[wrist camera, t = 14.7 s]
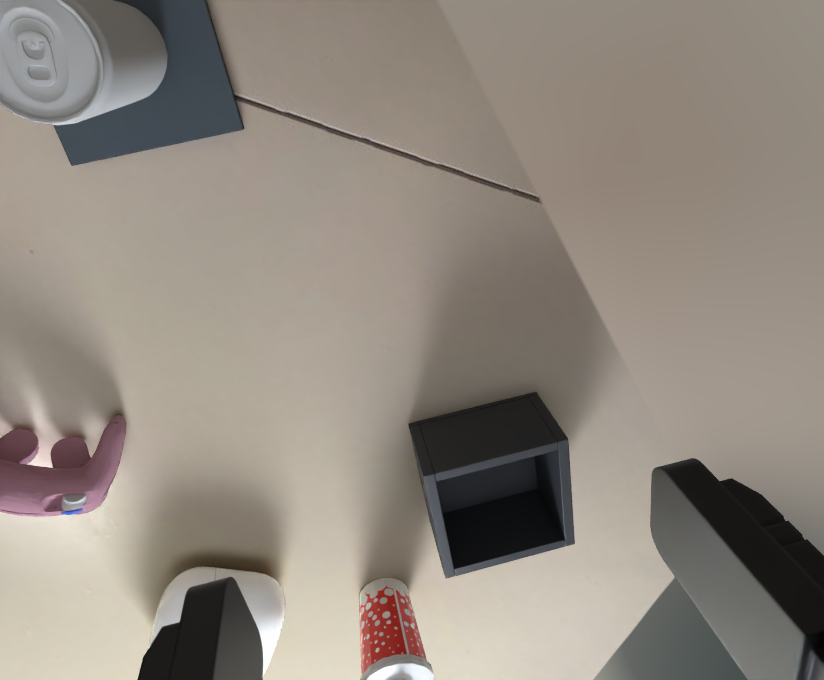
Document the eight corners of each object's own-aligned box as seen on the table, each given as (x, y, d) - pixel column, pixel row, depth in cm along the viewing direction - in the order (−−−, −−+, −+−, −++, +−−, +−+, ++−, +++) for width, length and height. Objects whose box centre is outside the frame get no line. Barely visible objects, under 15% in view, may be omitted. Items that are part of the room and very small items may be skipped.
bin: (536, 391, 47) (568, 439, 41) (545, 489, 52) (574, 544, 46) (408, 423, 46) (423, 476, 41) (429, 520, 51) (445, 579, 46)
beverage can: (163, 4, 31) (94, -17, 20) (176, 102, 33) (118, 129, 23) (65, -2, 30) (-62, -27, 20) (83, 99, 32) (-21, 126, 22)
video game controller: (-18, 416, 42) (-67, 511, 37) (-30, 383, 38) (-85, 483, 34) (131, 440, 45) (101, 532, 40) (132, 411, 41) (100, 507, 37)
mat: (184, -73, 30) (182, -75, 30) (244, 128, 35) (243, 129, 34) (-15, -37, 29) (-20, -38, 29) (74, 164, 34) (71, 166, 34)
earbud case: (296, 560, 51) (295, 613, 46) (260, 659, 56) (257, 717, 51) (172, 545, 48) (158, 601, 43) (146, 651, 53) (131, 712, 48)
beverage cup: (341, 613, 55) (353, 779, 42) (364, 566, 53) (385, 726, 40) (401, 621, 57) (429, 782, 44) (426, 577, 54) (463, 732, 42)
